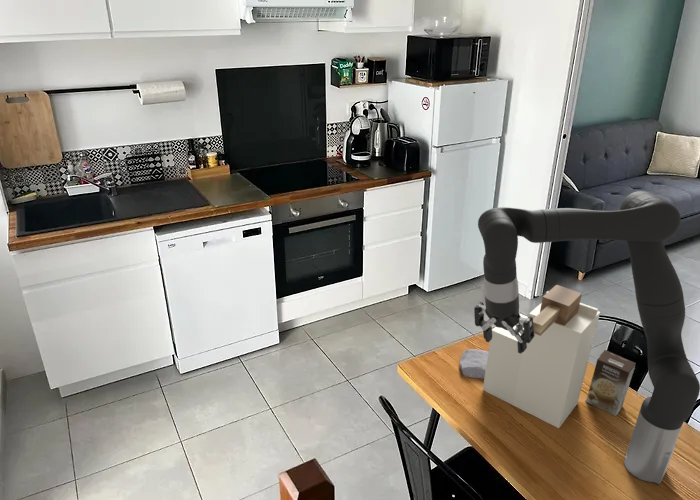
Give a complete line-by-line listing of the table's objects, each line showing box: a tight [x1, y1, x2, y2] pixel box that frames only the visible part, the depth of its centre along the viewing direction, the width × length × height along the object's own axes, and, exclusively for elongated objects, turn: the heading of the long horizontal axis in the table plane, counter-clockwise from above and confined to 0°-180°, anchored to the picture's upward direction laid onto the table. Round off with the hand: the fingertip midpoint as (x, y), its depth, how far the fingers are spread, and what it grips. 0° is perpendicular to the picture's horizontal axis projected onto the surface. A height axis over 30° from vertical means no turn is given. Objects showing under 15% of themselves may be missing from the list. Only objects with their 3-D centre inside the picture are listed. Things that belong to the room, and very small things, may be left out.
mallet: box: [533, 284, 583, 336], centre depth 141 cm, size 7×20×6 cm, turn 138°
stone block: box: [459, 348, 488, 379], centre depth 176 cm, size 12×5×10 cm
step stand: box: [482, 290, 601, 429], centre depth 156 cm, size 24×14×34 cm, turn 48°
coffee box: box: [585, 349, 637, 417], centre depth 157 cm, size 9×6×16 cm
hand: (504, 345), depth 131 cm, fingers open, 8 cm apart
